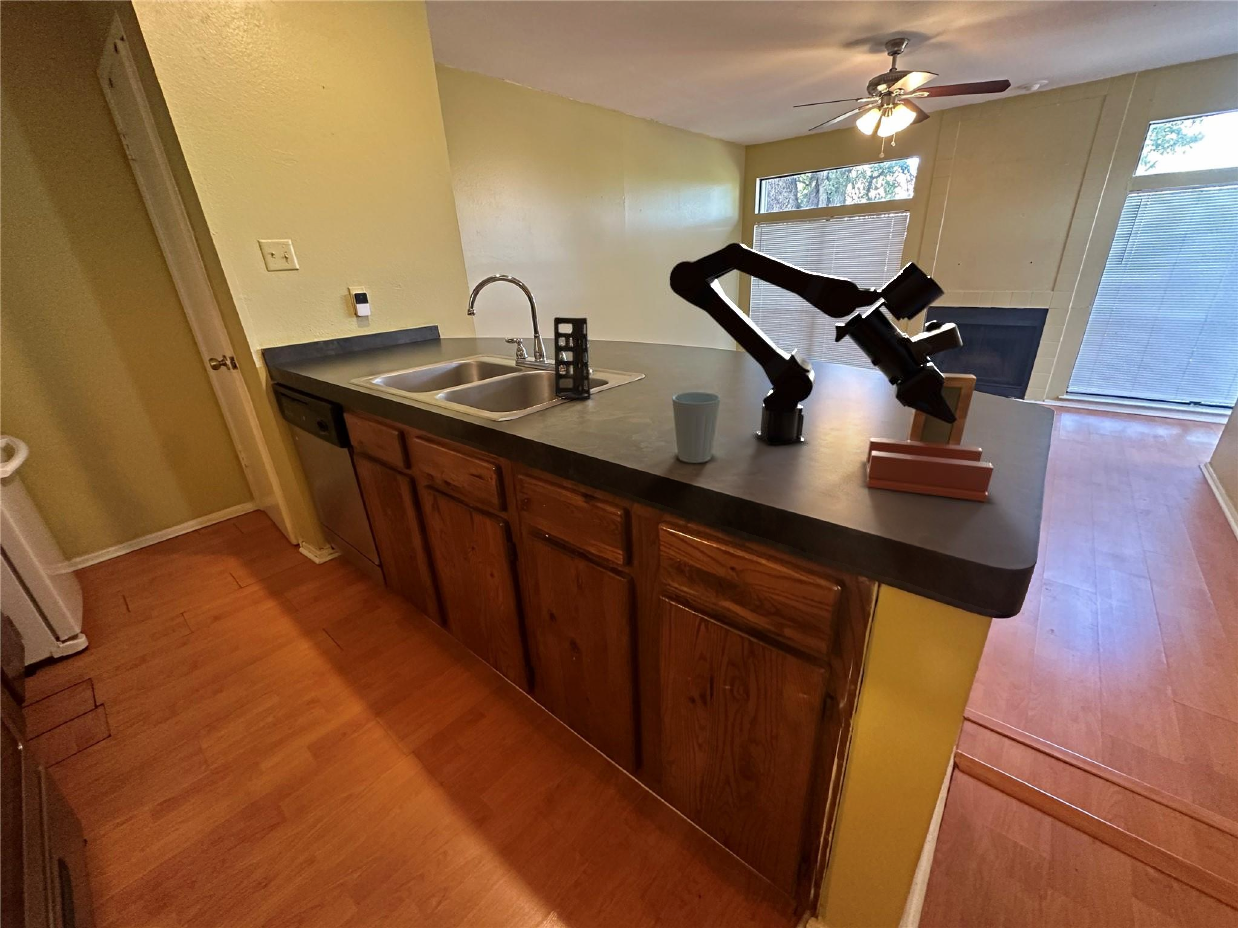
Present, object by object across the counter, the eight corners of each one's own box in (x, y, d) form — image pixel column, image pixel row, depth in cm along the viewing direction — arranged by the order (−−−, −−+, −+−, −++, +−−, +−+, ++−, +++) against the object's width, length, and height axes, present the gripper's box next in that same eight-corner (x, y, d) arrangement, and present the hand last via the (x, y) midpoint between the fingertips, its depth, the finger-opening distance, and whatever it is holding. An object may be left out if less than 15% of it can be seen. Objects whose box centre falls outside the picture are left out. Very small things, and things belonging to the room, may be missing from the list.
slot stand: (867, 486, 68) (872, 457, 66) (865, 462, 76) (870, 435, 75) (986, 501, 62) (995, 470, 61) (970, 473, 71) (978, 445, 69)
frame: (906, 453, 79) (922, 375, 74) (904, 448, 81) (920, 372, 77) (956, 459, 76) (976, 378, 71) (953, 453, 79) (972, 374, 74)
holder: (547, 397, 123) (545, 317, 118) (561, 393, 130) (560, 317, 124) (585, 400, 119) (585, 317, 114) (598, 396, 126) (598, 318, 120)
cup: (726, 455, 81) (729, 395, 77) (701, 469, 76) (703, 405, 72) (689, 447, 86) (689, 390, 82) (663, 459, 81) (663, 399, 77)
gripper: (940, 309, 64) (1021, 395, 63) (923, 300, 79) (988, 369, 79) (865, 366, 70) (939, 445, 69) (863, 347, 85) (923, 412, 85)
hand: (949, 414), depth 76 cm, fingers open, 8 cm apart
